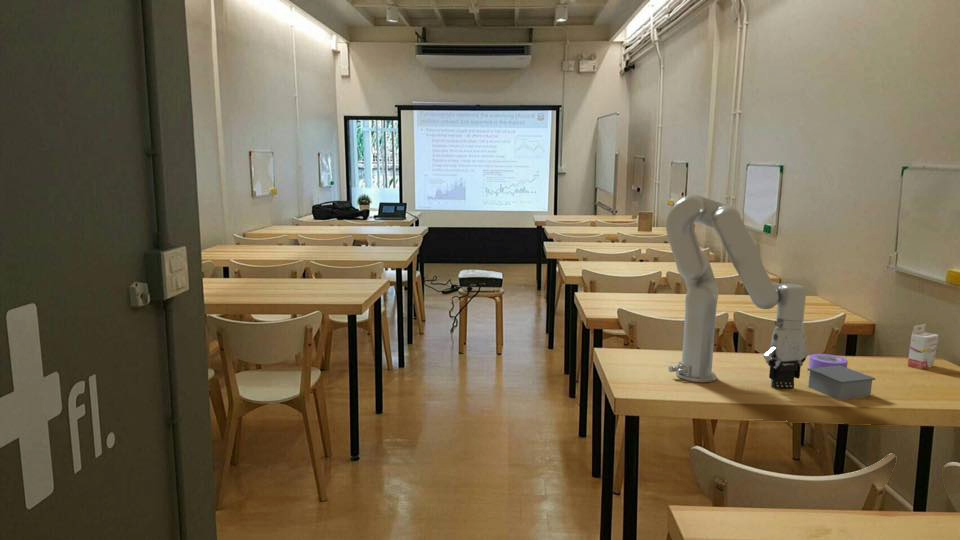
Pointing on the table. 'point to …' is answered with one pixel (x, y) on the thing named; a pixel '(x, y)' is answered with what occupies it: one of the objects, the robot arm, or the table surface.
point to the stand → (840, 382)
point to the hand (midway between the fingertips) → (784, 378)
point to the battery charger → (785, 375)
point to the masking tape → (826, 361)
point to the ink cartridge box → (922, 348)
